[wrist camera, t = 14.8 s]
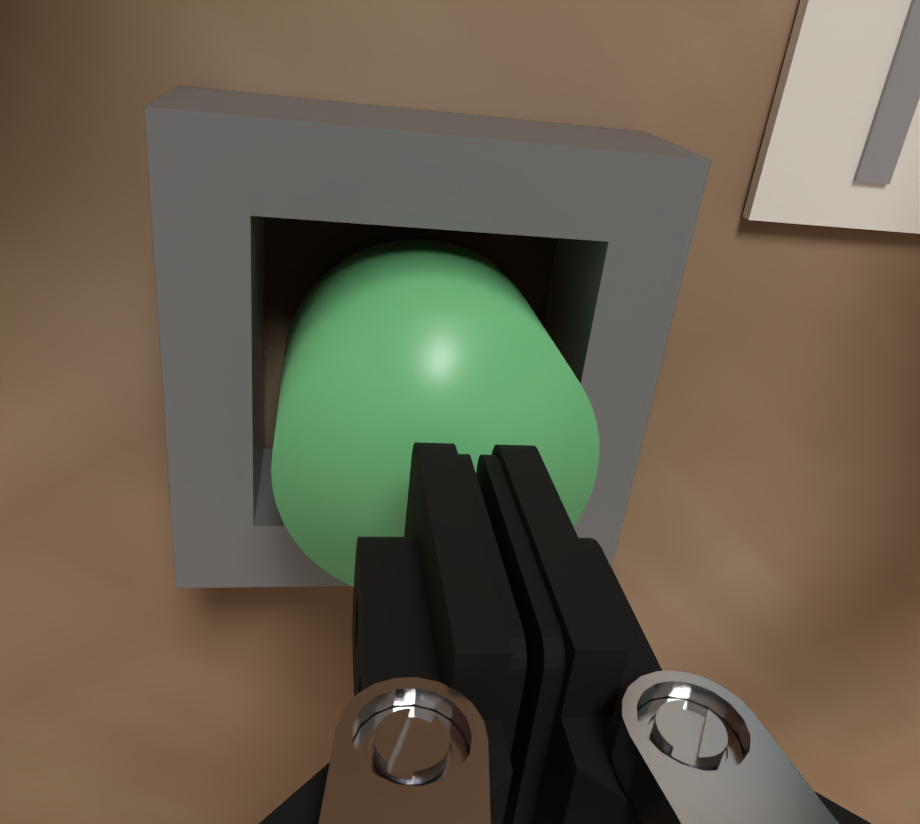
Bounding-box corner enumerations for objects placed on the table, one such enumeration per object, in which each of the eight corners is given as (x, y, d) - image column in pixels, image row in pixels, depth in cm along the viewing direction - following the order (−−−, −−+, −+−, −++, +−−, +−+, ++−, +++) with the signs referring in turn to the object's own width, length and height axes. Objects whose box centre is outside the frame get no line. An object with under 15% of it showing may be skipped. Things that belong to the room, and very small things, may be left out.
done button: (283, 471, 16) (271, 602, 13) (285, 229, 14) (271, 307, 10) (520, 475, 17) (569, 598, 14) (558, 248, 15) (628, 326, 11)
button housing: (198, 503, 18) (175, 588, 16) (178, 85, 14) (143, 106, 12) (570, 506, 20) (607, 584, 17) (647, 132, 16) (711, 160, 13)
